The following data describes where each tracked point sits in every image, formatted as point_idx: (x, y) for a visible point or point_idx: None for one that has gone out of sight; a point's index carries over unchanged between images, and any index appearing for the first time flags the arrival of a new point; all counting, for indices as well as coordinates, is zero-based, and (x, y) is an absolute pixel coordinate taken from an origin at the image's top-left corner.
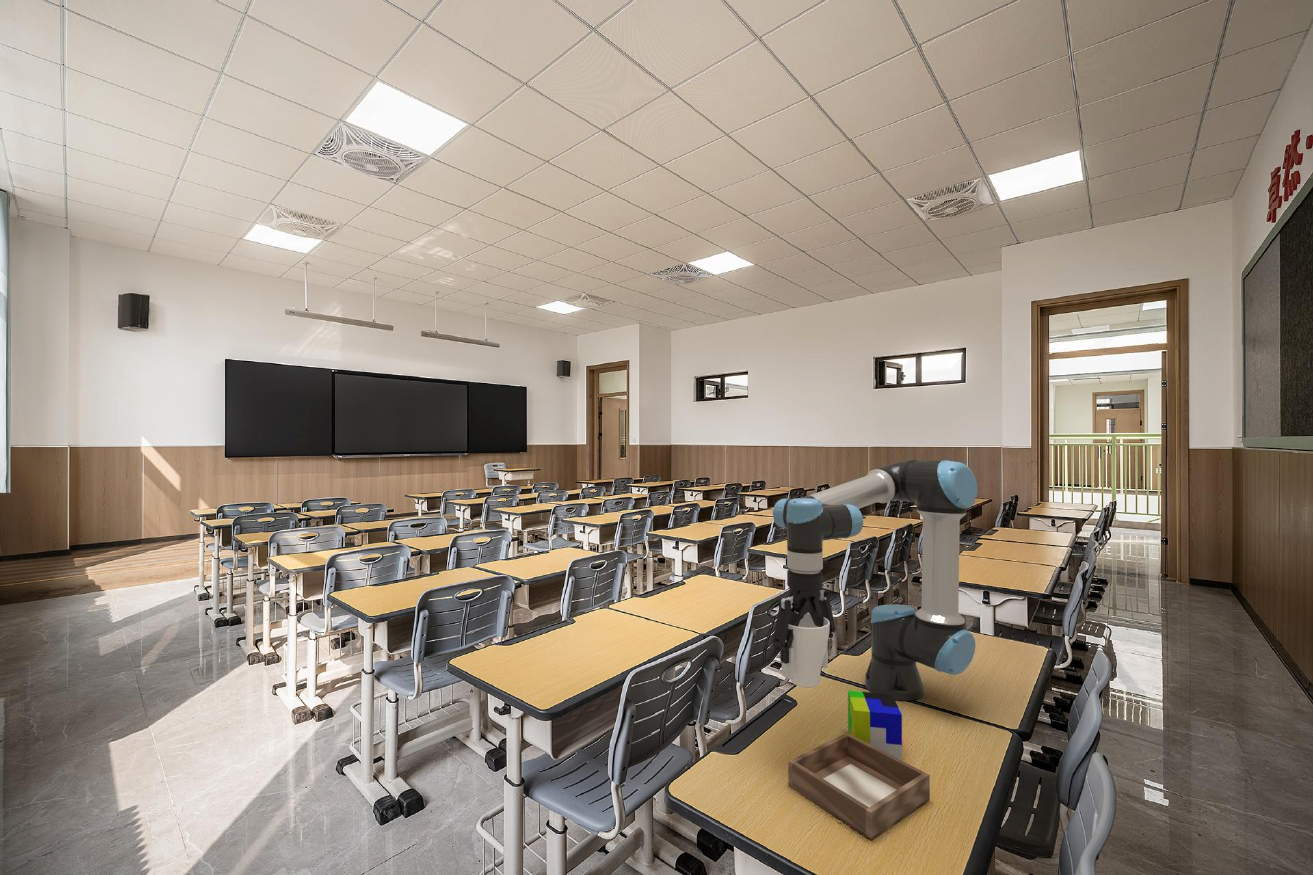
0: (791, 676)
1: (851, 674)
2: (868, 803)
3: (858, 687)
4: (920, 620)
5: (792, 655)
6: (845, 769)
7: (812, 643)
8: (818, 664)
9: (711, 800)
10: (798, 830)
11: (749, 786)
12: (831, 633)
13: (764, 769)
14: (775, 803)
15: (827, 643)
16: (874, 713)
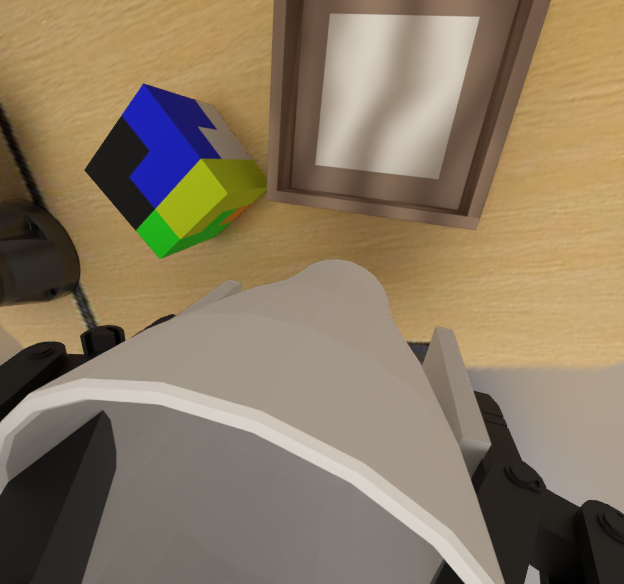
0: (454, 337)
1: (66, 324)
2: (423, 46)
3: (87, 296)
4: None
5: (466, 403)
6: (341, 160)
7: (391, 359)
8: (328, 278)
9: (619, 300)
10: (610, 112)
11: (520, 273)
12: (86, 344)
13: (445, 282)
14: (543, 204)
15: None
16: (195, 148)
